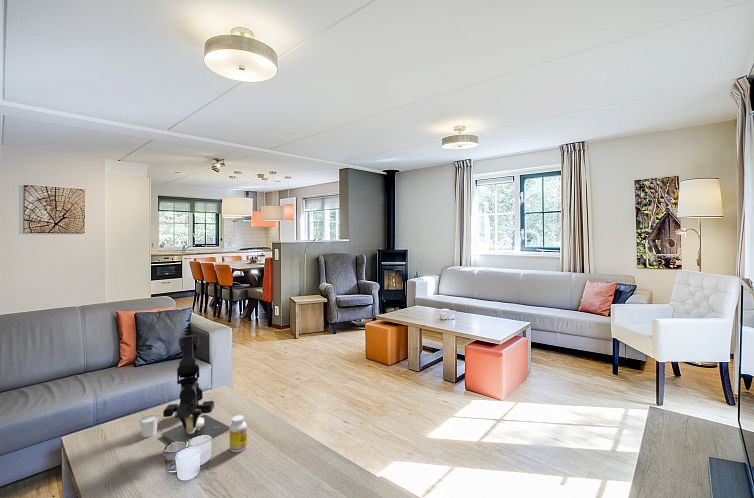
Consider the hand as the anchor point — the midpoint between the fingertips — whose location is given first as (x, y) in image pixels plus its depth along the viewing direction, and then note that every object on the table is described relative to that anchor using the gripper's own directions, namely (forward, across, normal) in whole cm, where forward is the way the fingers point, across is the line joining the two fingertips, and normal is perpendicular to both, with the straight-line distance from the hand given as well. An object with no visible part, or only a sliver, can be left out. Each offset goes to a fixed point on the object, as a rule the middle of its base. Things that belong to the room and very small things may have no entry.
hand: (190, 428), depth 155 cm
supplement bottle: (+6, +21, -9) cm, 24 cm away
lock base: (+6, 0, +7) cm, 9 cm away
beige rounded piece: (+3, 0, +5) cm, 5 cm away
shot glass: (+6, -20, +10) cm, 24 cm away
